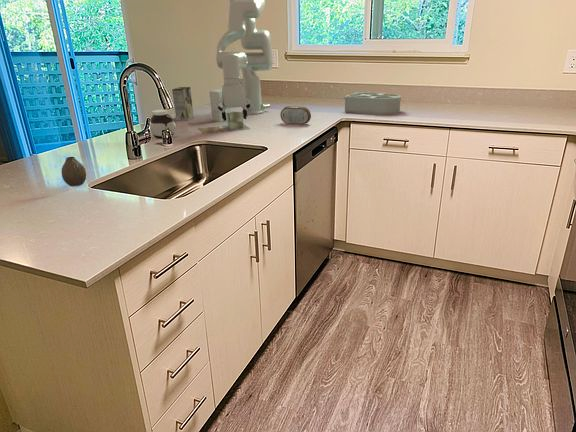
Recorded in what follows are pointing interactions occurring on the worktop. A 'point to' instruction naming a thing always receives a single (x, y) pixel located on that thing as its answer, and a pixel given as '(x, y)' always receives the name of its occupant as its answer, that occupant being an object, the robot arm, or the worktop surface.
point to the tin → (295, 115)
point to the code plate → (235, 129)
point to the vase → (73, 172)
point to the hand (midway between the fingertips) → (234, 119)
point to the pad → (210, 130)
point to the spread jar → (161, 123)
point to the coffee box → (183, 103)
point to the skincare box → (216, 113)
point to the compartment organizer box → (373, 103)
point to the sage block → (235, 119)
